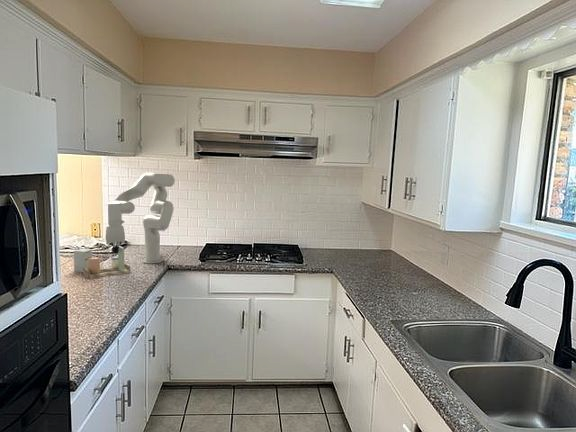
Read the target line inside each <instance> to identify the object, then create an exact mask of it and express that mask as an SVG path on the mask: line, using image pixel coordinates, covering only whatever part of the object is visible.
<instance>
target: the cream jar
mask: <svg viewBox="0 0 576 432" xmlns="http://www.w3.org/2000/svg"><path fill="white" fill-rule="evenodd" d="M110 263H111V267H110V268H114V267H118V255H117V256H115V255H114V256H111V257H110Z"/></svg>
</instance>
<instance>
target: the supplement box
mask: <svg viewBox="0 0 576 432" xmlns="http://www.w3.org/2000/svg"><path fill="white" fill-rule="evenodd" d="M91 257H93V249H92V248H91V249H89V248H80V249H76V250H73V272H79V273H83V267H85V268H87V269H88V258H91Z"/></svg>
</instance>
